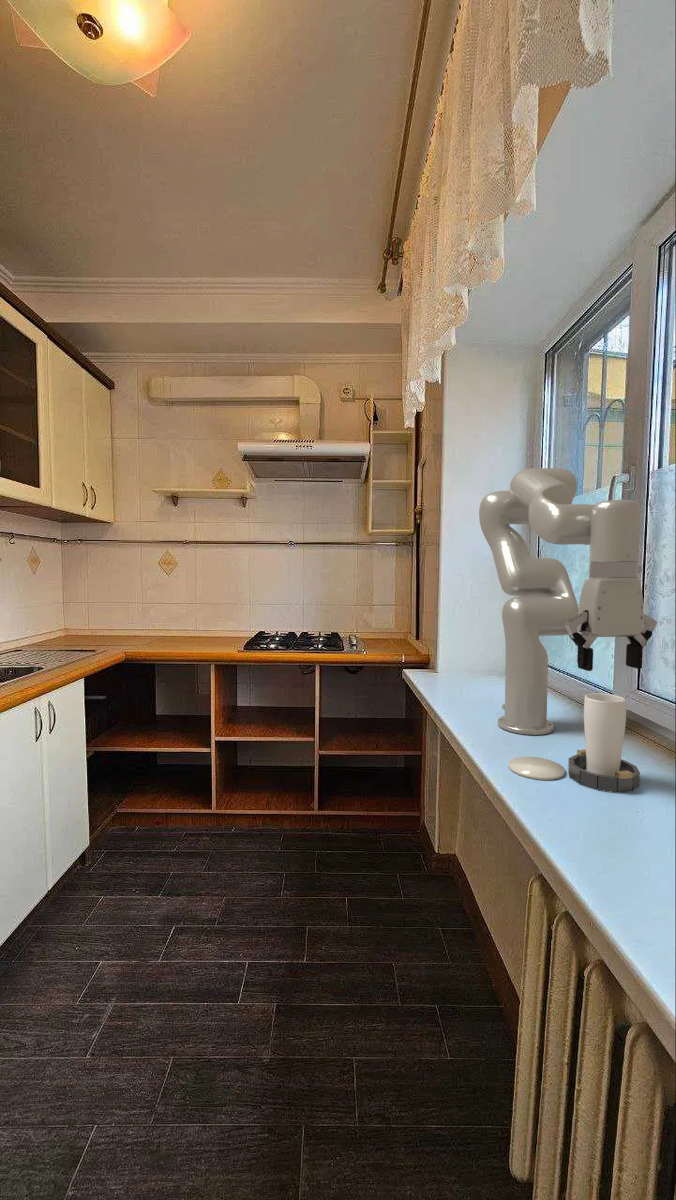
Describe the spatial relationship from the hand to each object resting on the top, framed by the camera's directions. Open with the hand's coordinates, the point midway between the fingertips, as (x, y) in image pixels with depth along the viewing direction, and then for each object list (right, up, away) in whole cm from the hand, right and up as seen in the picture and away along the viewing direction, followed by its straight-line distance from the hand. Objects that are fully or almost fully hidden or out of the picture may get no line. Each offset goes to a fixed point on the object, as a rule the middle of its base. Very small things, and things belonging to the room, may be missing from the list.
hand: (609, 668), depth 90 cm
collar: (0, -20, +2) cm, 21 cm away
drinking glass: (0, -21, +2) cm, 21 cm away
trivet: (-11, -20, +6) cm, 24 cm away
